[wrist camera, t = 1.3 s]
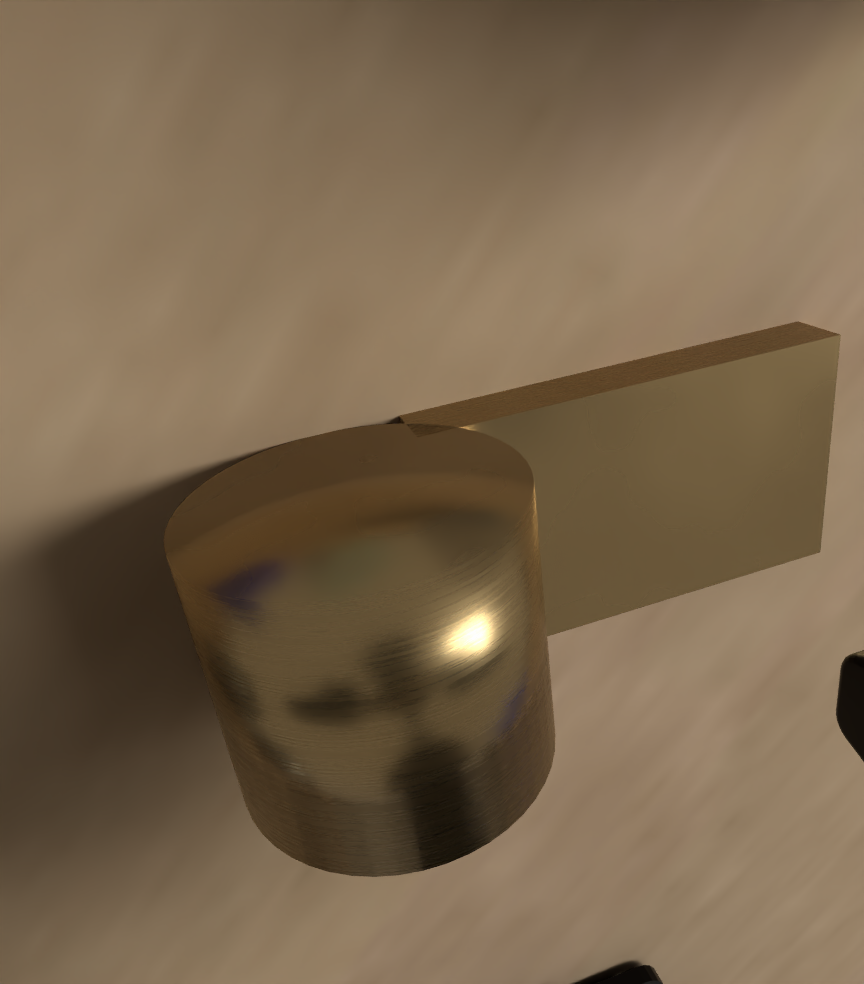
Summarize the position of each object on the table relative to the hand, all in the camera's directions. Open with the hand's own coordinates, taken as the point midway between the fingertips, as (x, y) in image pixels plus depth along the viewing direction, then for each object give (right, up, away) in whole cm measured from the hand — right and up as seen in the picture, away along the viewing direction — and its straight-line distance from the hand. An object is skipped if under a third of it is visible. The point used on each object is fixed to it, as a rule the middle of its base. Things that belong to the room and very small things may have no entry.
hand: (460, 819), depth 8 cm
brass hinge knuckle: (+1, +3, +6) cm, 6 cm away
